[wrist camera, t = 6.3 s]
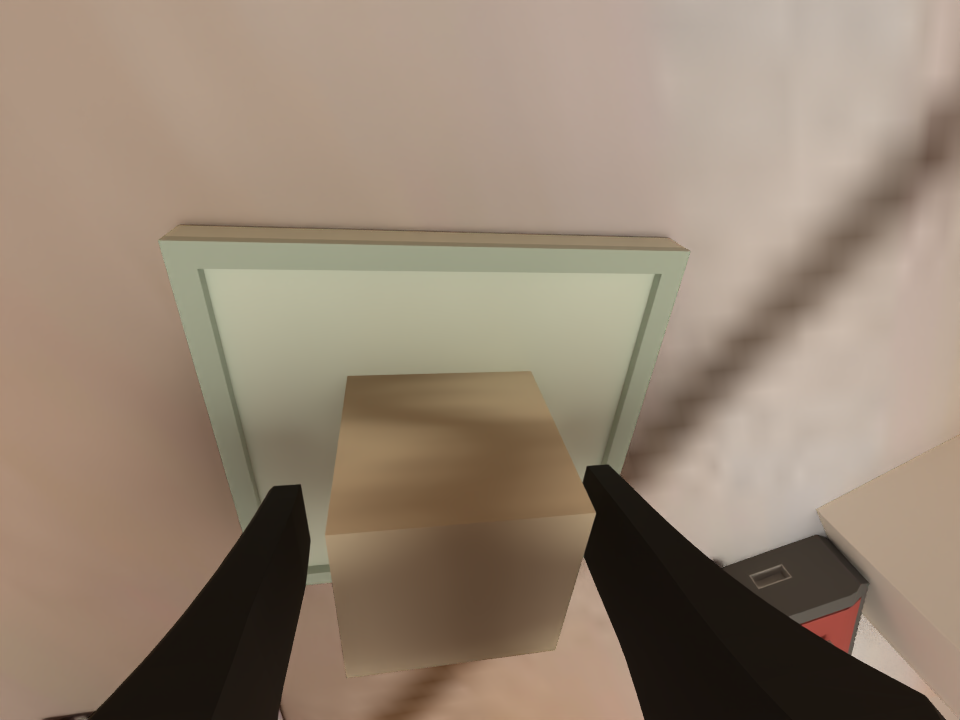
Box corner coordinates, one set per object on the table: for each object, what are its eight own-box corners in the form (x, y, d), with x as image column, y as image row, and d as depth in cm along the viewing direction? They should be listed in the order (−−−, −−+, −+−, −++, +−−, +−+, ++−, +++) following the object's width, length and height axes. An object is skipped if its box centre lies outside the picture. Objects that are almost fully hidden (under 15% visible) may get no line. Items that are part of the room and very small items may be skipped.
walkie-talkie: (647, 572, 22) (683, 721, 33) (699, 675, 18) (721, 805, 29) (829, 508, 21) (804, 681, 32) (920, 600, 18) (858, 760, 29)
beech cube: (359, 506, 15) (346, 678, 11) (347, 375, 12) (324, 535, 8) (511, 495, 16) (555, 650, 12) (530, 371, 13) (596, 513, 9)
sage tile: (266, 560, 17) (259, 589, 16) (178, 225, 10) (158, 240, 10) (583, 532, 19) (593, 556, 18) (668, 237, 13) (690, 251, 12)
